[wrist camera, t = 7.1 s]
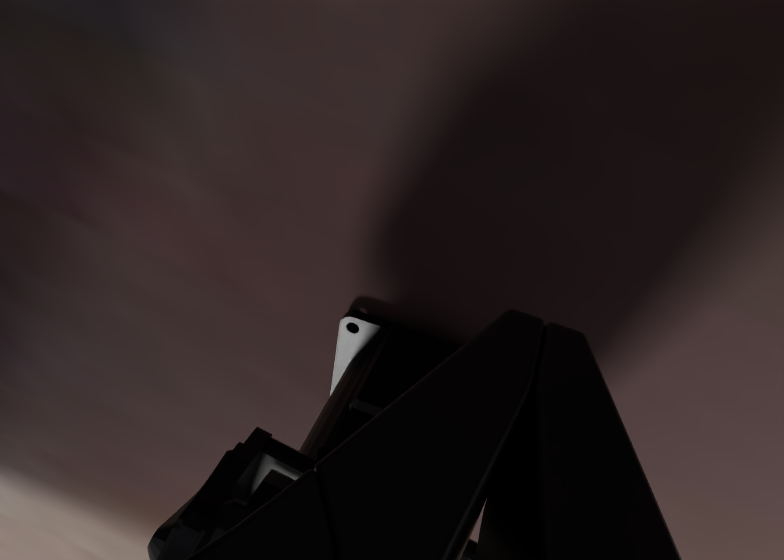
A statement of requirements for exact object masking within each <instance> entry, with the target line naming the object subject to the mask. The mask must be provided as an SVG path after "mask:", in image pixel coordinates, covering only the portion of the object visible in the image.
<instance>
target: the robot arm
mask: <svg viewBox="0 0 784 560" xmlns="http://www.w3.org/2000/svg"><path fill="white" fill-rule="evenodd" d="M351 322H352V323H355V324H357V326H358V327H355V326H354V325H352V323H351ZM544 326H545V327H544ZM486 498H487V500H486ZM485 501H486V504H485V508H484V512H483V517H482V522H481V527H480V533H479V539H478V543H477V542H475V541H473V540H471V539H469V538H470V536H471V534H472V532H473V529H474V527H475V525H476V522H477V520H478V518H479V515H480V513H481V510H482V508H483V506H484V503H485ZM147 549H148V553H149V558H150V560H682V559H681V557H680V555H679V552H678V550H677V548H676V545H675V543H674V541H673V538H672V536H671V534H670V532H669V529H668V527H667V525H666V522H665V520H664V518H663V515H662V513H661V511H660V508H659V506H658V504H657V501H656V499H655V497H654V494H653V492H652V490H651V487H650V485H649V483H648V480H647V478H646V476H645V473H644V471H643V469H642V466H641V464H640V462H639V459H638V457H637V455H636V452H635V450H634V448H633V445H632V443H631V441H630V438H629V436H628V434H627V431H626V429H625V427H624V424H623V422H622V420H621V417H620V415H619V413H618V410H617V408H616V406H615V403H614V401H613V399H612V396H611V394H610V392H609V389H608V387H607V385H606V382H605V380H604V378H603V375H602V373H601V371H600V368H599V366H598V364H597V361H596V359H595V357H594V355H593V352H592V350H591V348H590V345H589V343H588V341H587V338H586V336H585V335H584V334H583V333H581V332H579V331H576V330H573V329H571V328H568V327H565V326H562V325H559V324H556V323H552V322H551V323H548V324H547V325H544V321H543V320H542V319H540V318H538V317H535V316H532V315H529V314H526V313H523V312H521V311H518V310H515V309H509V310H507V311H505V312H504V313H503V314H501V315H500V316H499V317H498V318H496V319H495V320H494V321H493V322H492V323H490V324H489V325H488V326H487V327H485V328H484V329H483V330H482V331H480V332H479V333H478V334H477V335H475V336H474V337H473V338H472V339H470V340H469V341H468V342H467V343H465V344H464V345H463V346H460V345H457V344H454V343H451V342H448V341H445V340H442V339H439V338H436V337H433V336H430V335H427V334H424V333H421V332H418V331H415V330H412V329H409V328H406V327H403V326H400V325H398V324H395V323H392V322H389V321H386V320H383V319H380V318H377V317H374V316H371V315H368V314H365V313H362V312H359V311H354V310H352V311H348V312H347V313H346V314H345V315H344V317H343V318H342V320H341V322H340V327H339V334H338V342H337V349H336V356H335V364H334V371H333V378H332V386H331V393H330V398H329V399H328V401H327V403H326V405H325V406H324V408H323V410H322V412H321V413H320V415H319V417H318V419H317V420H316V422H315V424H314V426H313V427H312V429H311V431H310V433H309V434H308V436H307V438H306V440H305V441H304V443H303V445H302V447H301V449H300V450H299V451H297V450H295V449H293V448H291V447H289V446H287V445H285V444H283V443H282V442H280V441H278V440H276V439H274V438H272V434H270V433H268V432H266V431H264V430H262V429H260V428H259V427H256V429H255V430H254V431H253V432H252V434H251V435H250V436H249V437H248V439H247V440H246V441H245V442H244V444H243V443H241V442H239V443H238V444H237V445H236V447H235V448H234V449H233V450H230V451H227V452H226V453H225V455H224V456H223V458H222V459H221V461H220V462H219V464H218V465H217V467H216V468H215V470H214V471H213V473H212V474H211V475H210V477H209V478H208V480H207V481H206V483H205V484H204V485H203V486H202V488H201V489H200V490H199V491H198V492H197V493H196V494H195V495H194V496H193V497H192V498H191V499H190V500H189V501H188V502H187V503H185V504H184V505H183V506H182V507H181V508H180V509H179V510H178V511H177V512H176V513H174V514H173V515H172V516H171V517H170V518H169V519H168V520H167V521H166V522H165V523H163V524H162V525H161V526H160V527H159V528H158V529H157V531H156V532H155V534H154V535H153V537H152V538H151V540H150V542H149V545H148V548H147Z"/></svg>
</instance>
